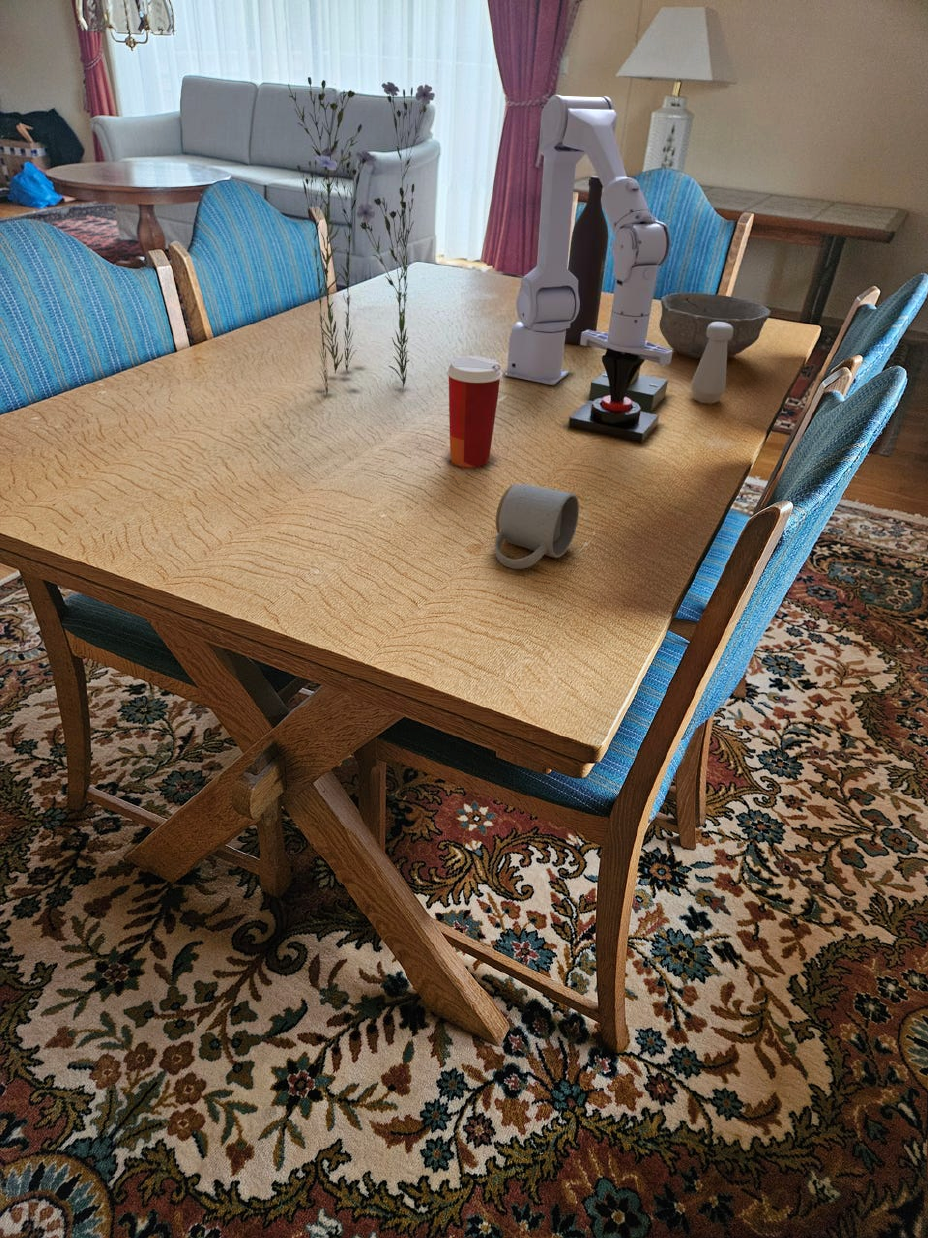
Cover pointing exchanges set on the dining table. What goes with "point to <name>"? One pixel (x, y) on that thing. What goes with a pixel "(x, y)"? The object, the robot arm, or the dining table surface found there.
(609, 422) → the switch box
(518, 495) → the ceramic mug
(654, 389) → the panel
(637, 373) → the dimmer knob
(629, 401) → the light button
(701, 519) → the dining table surface
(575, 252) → the wine bottle
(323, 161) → the wildflower
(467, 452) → the paper cup
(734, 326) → the bowl
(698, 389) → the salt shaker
